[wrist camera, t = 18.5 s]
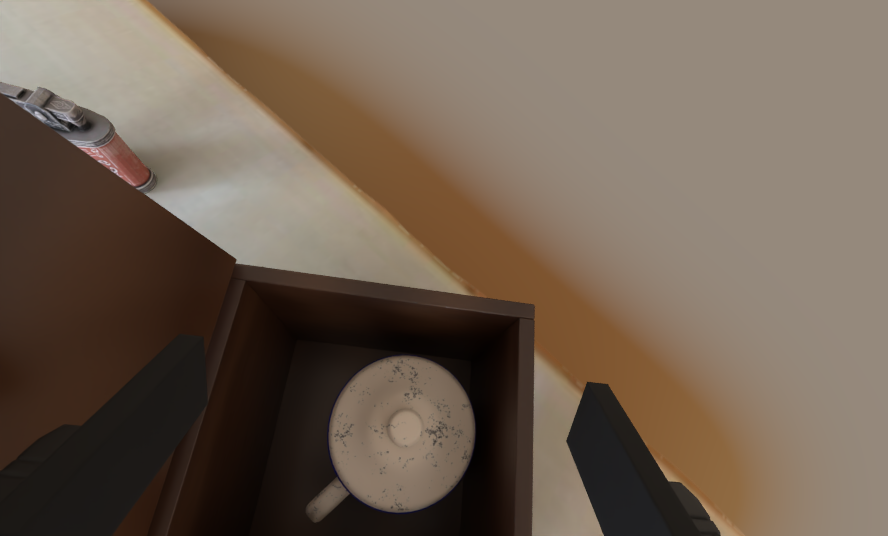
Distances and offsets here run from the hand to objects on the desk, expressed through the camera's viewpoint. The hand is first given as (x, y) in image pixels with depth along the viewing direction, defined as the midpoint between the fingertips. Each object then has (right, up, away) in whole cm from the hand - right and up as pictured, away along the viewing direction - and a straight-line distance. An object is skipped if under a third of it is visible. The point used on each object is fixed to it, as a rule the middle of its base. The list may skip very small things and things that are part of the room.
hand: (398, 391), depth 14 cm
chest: (-4, -10, +19) cm, 22 cm away
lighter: (-30, +13, +25) cm, 41 cm away
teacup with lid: (-3, -10, +18) cm, 21 cm away
